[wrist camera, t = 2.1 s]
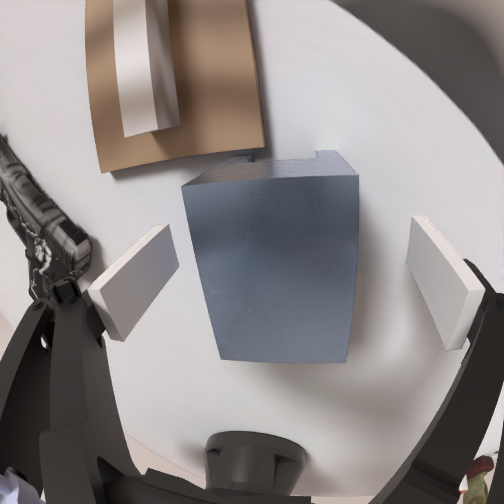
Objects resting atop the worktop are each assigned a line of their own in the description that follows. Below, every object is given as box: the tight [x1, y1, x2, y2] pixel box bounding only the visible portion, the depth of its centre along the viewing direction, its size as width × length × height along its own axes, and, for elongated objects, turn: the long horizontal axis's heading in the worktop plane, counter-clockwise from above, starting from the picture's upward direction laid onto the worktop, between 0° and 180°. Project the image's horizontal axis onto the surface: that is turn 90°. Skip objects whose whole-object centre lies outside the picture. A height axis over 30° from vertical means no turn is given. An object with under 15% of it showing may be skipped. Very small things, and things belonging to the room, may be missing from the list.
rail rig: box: [85, 0, 266, 174], centre depth 11 cm, size 20×12×6 cm, turn 6°
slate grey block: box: [181, 150, 359, 363], centre depth 15 cm, size 9×6×8 cm
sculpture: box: [463, 455, 494, 504], centre depth 29 cm, size 10×8×15 cm
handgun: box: [0, 136, 91, 306], centre depth 22 cm, size 20×3×14 cm
